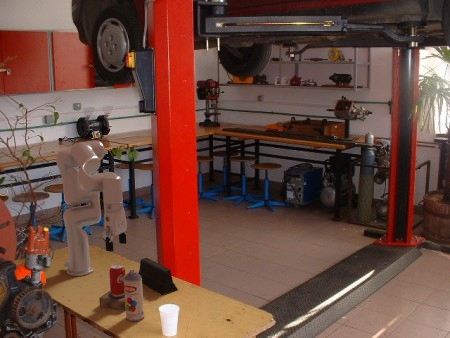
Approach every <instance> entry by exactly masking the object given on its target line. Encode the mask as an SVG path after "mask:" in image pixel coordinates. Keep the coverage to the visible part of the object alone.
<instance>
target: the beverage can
mask: <svg viewBox="0 0 450 338" xmlns="http://www.w3.org/2000/svg"><path fill="white" fill-rule="evenodd" d="M108 270H109V291H110V293H111V294H112V295H113V296H115V297H119V296H123V295H124V294H125V291H124V277H125V276H126V268H125V267H124V264H113V265H111V266H110V269H108Z"/></svg>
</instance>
